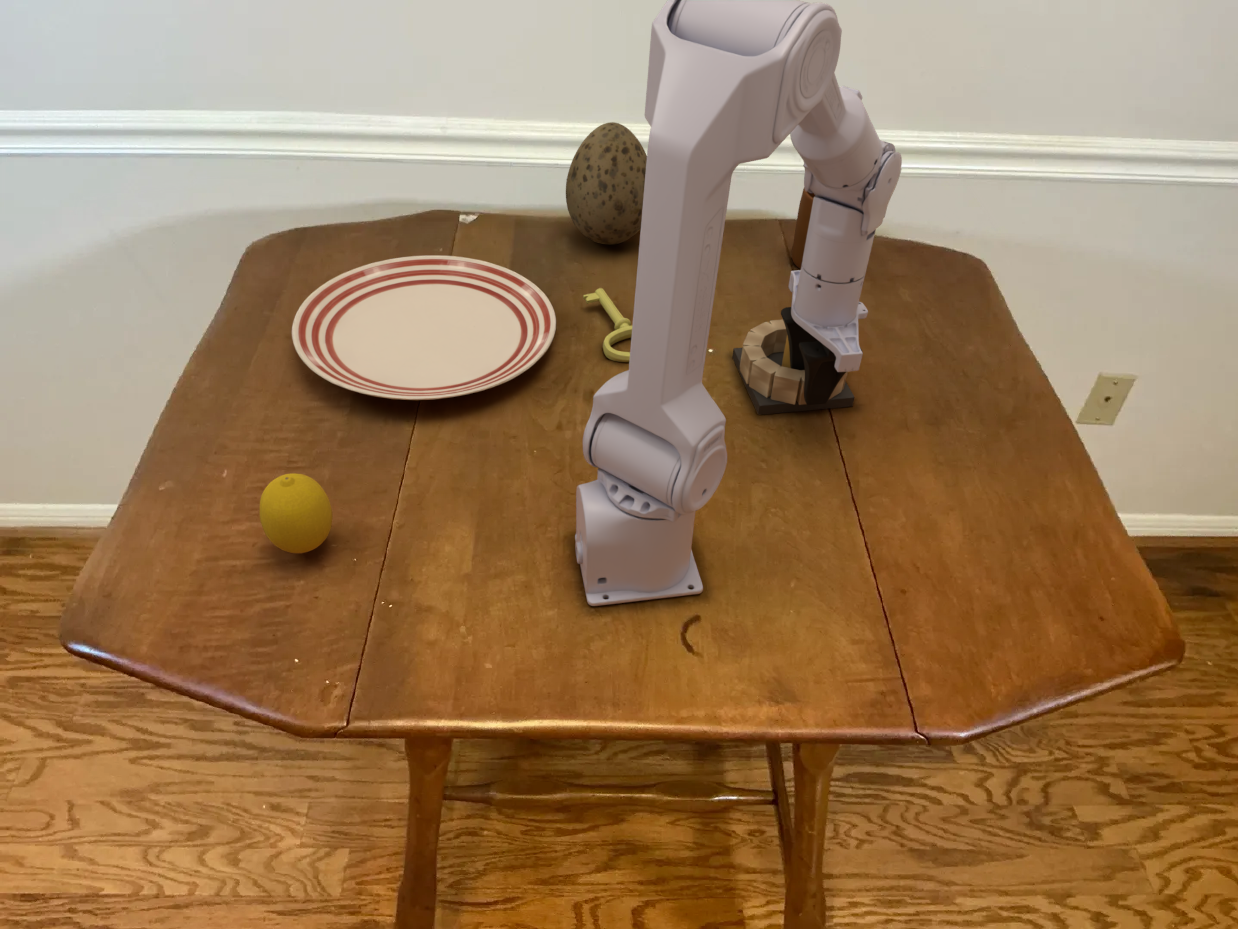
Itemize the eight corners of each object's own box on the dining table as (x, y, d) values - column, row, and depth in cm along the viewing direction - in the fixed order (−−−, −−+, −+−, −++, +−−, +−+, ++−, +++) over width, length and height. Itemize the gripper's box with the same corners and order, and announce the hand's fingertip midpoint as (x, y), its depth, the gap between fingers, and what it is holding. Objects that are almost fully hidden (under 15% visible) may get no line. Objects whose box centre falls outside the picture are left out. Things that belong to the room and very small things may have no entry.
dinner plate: (522, 262, 115) (521, 238, 113) (587, 395, 96) (588, 368, 94) (288, 295, 108) (282, 269, 106) (309, 445, 89) (302, 417, 87)
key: (599, 300, 110) (599, 284, 108) (675, 347, 103) (677, 330, 102) (551, 323, 106) (551, 306, 104) (628, 373, 99) (628, 356, 98)
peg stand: (758, 415, 95) (766, 362, 90) (732, 357, 102) (738, 306, 98) (852, 406, 96) (865, 354, 92) (820, 350, 103) (830, 299, 99)
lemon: (305, 582, 77) (284, 512, 71) (257, 554, 79) (234, 484, 73) (353, 541, 80) (337, 471, 75) (306, 515, 82) (287, 446, 77)
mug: (865, 298, 112) (882, 225, 105) (801, 297, 111) (815, 224, 105) (845, 247, 121) (859, 177, 114) (785, 246, 120) (797, 176, 114)
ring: (759, 409, 93) (762, 385, 91) (728, 347, 101) (731, 323, 99) (861, 398, 95) (867, 374, 93) (823, 338, 103) (828, 315, 101)
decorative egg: (657, 259, 117) (664, 141, 107) (570, 263, 116) (569, 143, 106) (643, 218, 125) (649, 104, 115) (562, 221, 124) (561, 106, 114)
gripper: (907, 307, 80) (873, 431, 89) (847, 226, 91) (823, 344, 100) (828, 313, 79) (802, 437, 88) (777, 230, 90) (758, 349, 99)
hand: (808, 388), depth 94 cm, fingers open, 4 cm apart
